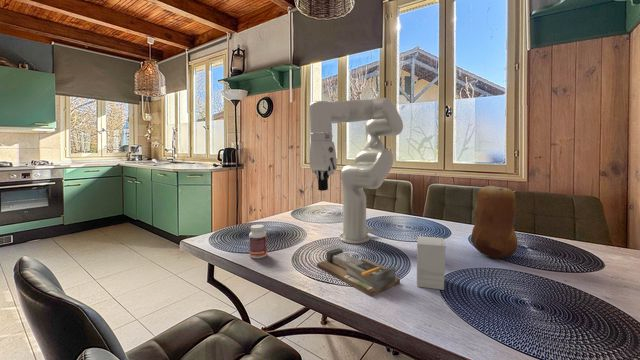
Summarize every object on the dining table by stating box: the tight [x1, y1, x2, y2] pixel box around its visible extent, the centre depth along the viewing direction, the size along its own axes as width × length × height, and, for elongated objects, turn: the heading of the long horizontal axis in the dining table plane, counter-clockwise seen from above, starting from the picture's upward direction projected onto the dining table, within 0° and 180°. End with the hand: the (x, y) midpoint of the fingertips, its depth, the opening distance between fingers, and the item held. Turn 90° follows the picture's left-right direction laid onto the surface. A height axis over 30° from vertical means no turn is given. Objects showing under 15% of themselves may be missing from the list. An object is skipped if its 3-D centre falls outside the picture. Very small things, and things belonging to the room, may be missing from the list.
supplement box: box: [416, 235, 447, 291], centre depth 85 cm, size 7×7×13 cm
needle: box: [361, 267, 382, 276], centre depth 83 cm, size 8×2×4 cm, turn 127°
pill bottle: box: [248, 224, 268, 259], centre depth 107 cm, size 6×6×11 cm
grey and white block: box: [326, 248, 365, 270], centre depth 95 cm, size 5×13×3 cm, turn 37°
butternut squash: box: [470, 185, 518, 260], centre depth 103 cm, size 14×13×25 cm
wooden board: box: [316, 258, 401, 297], centre depth 91 cm, size 12×24×5 cm, turn 37°
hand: (323, 189), depth 106 cm, fingers closed
